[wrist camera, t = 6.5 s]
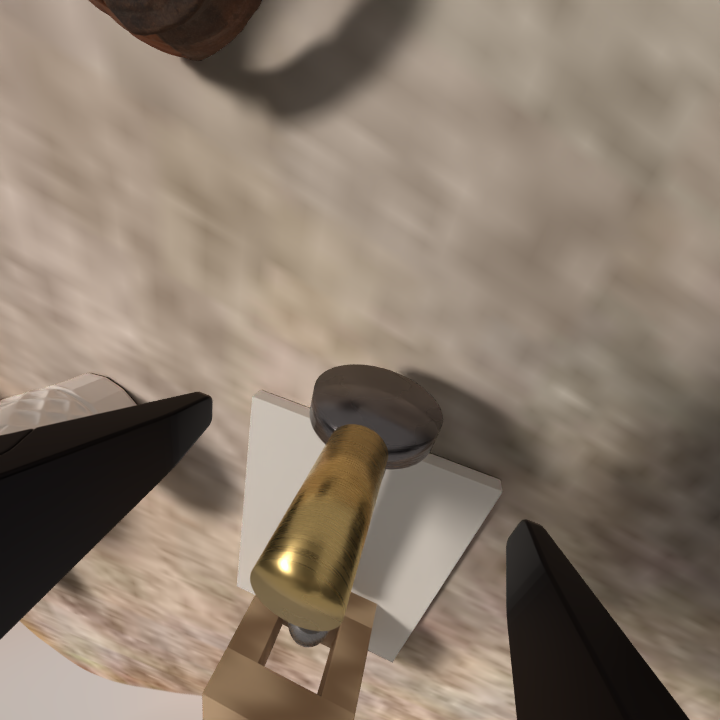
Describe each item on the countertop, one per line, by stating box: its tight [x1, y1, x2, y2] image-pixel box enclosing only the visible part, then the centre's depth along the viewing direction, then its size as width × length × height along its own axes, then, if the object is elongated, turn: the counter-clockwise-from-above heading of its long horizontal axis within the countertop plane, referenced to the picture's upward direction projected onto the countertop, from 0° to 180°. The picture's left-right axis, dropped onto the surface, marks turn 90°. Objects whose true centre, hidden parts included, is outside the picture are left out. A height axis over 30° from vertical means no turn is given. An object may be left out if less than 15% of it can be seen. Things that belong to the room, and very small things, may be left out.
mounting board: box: [237, 390, 503, 662], centre depth 21 cm, size 14×20×1 cm
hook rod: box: [250, 365, 443, 647], centre depth 13 cm, size 5×18×9 cm, turn 167°
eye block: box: [202, 592, 377, 720], centre depth 20 cm, size 8×5×8 cm, turn 77°
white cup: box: [0, 373, 137, 435], centre depth 18 cm, size 8×8×10 cm
